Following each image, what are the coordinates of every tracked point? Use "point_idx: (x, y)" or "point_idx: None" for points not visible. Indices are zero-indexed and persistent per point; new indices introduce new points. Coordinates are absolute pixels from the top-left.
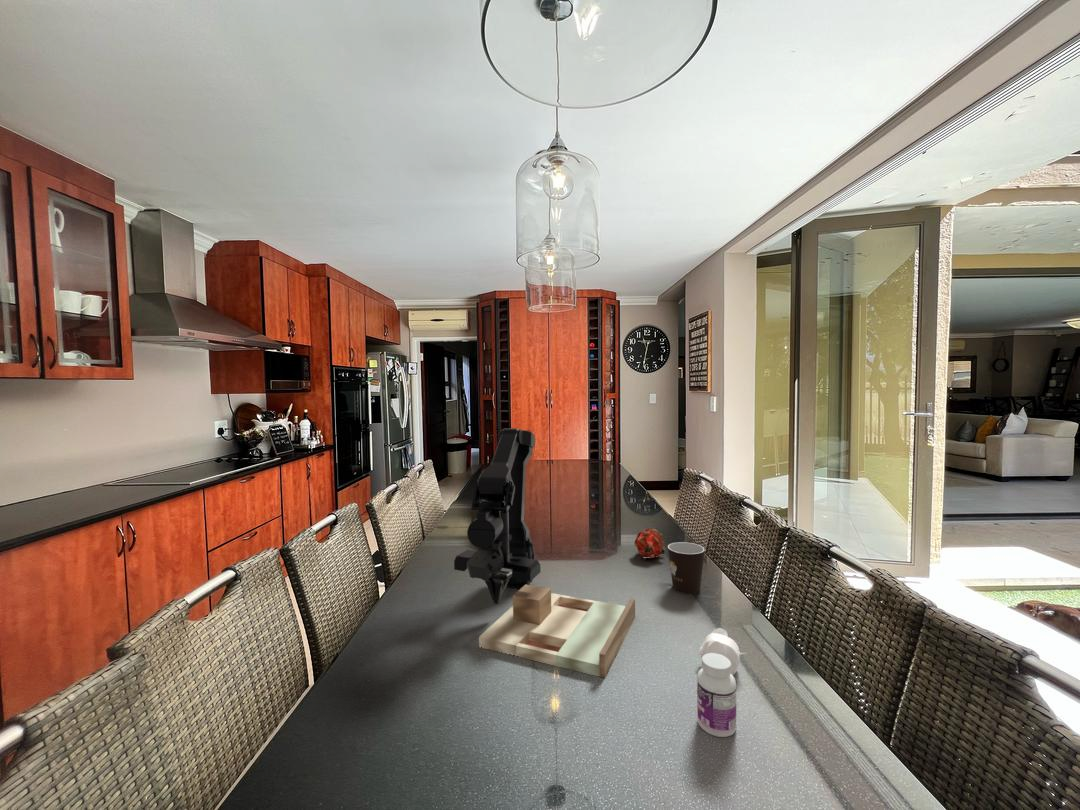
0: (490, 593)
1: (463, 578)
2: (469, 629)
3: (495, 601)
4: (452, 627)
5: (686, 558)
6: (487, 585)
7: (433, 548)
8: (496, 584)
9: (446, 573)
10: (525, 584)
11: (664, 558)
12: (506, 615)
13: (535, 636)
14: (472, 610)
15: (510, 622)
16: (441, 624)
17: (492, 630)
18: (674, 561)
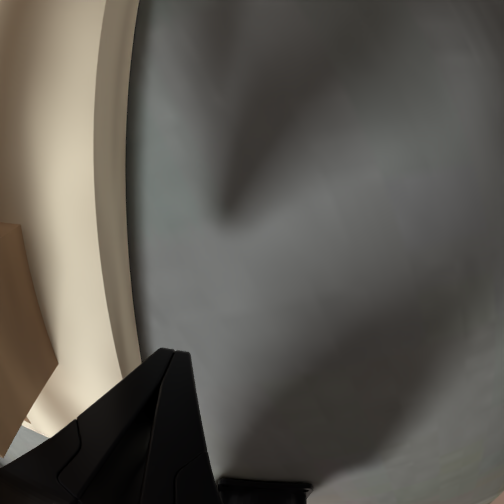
0: (196, 419)
1: (441, 469)
2: (314, 113)
3: (170, 364)
4: (435, 120)
5: None
6: (211, 496)
7: (496, 491)
8: (64, 488)
9: (484, 462)
10: (3, 457)
11: None
12: (76, 262)
13: None
14: (378, 334)
15: (14, 184)
16: (499, 149)
17: (63, 35)
18: None
